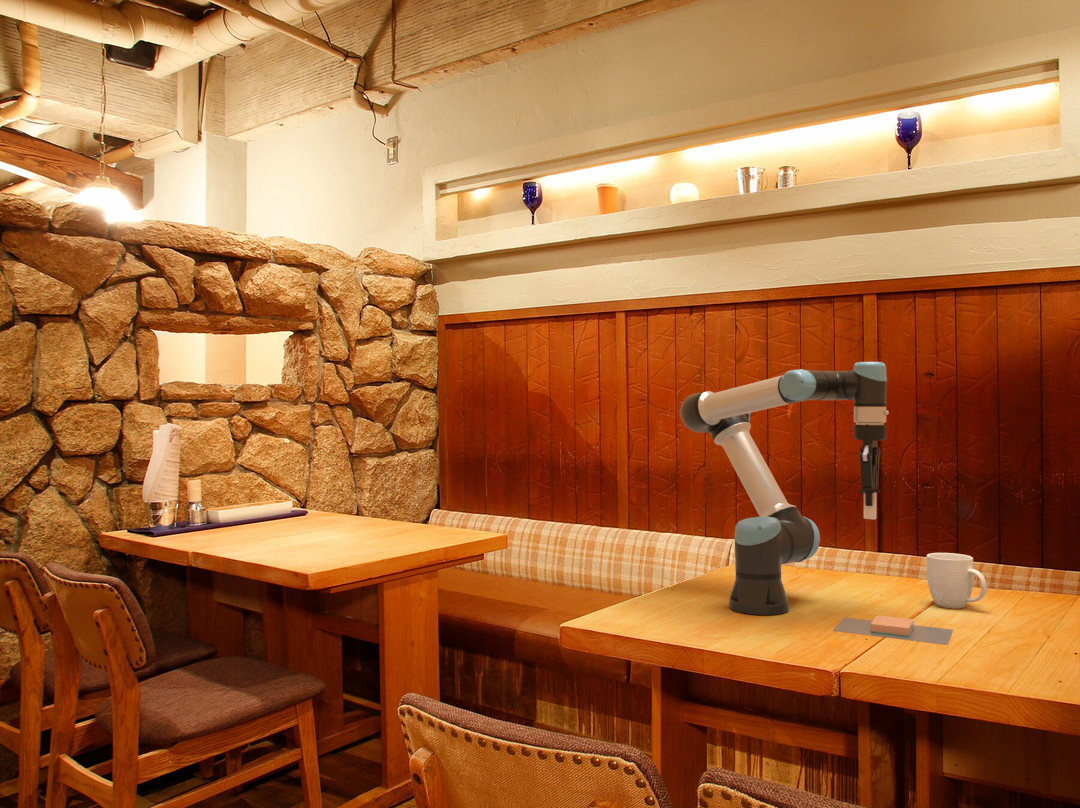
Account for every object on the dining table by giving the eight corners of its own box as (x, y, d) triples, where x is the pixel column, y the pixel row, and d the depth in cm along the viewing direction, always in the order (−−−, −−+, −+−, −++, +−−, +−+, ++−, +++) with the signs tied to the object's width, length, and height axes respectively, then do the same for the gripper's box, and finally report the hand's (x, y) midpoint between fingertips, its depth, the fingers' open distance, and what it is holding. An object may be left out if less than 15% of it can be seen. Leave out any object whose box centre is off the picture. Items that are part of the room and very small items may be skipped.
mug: (997, 609, 210) (996, 558, 210) (974, 616, 204) (973, 563, 204) (942, 599, 222) (941, 551, 222) (918, 604, 216) (917, 555, 216)
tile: (877, 623, 194) (870, 632, 186) (877, 615, 194) (870, 623, 186) (914, 627, 190) (908, 637, 182) (913, 619, 190) (908, 628, 182)
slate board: (832, 634, 188) (832, 630, 188) (844, 621, 200) (844, 617, 200) (947, 649, 176) (947, 644, 176) (953, 633, 188) (953, 629, 188)
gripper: (880, 424, 195) (880, 523, 196) (891, 423, 206) (891, 516, 206) (848, 424, 200) (848, 520, 200) (860, 423, 210) (859, 514, 211)
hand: (869, 518), depth 203 cm, fingers closed
